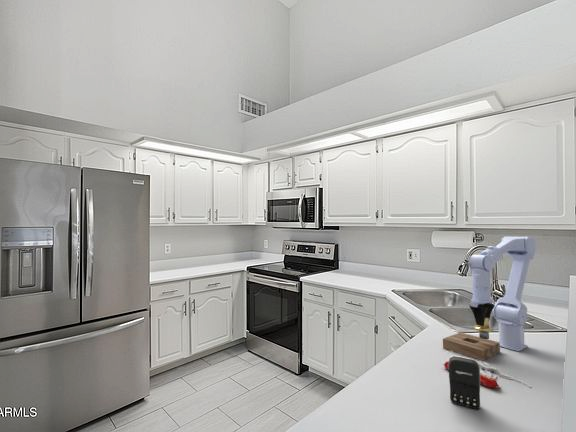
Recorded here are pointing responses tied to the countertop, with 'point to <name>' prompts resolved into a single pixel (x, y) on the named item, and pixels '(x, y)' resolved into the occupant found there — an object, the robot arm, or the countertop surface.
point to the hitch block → (471, 346)
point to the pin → (484, 329)
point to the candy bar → (481, 378)
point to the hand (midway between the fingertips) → (482, 324)
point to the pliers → (492, 369)
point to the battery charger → (464, 381)
